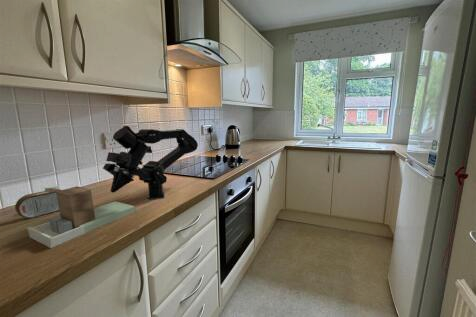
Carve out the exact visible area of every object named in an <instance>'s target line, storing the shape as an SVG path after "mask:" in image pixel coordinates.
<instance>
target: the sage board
mask: <svg viewBox="0 0 476 317" xmlns="http://www.w3.org/2000/svg"><path fill="white" fill-rule="evenodd" d="M135 212H136V206H135V205H131V204H127V203H123V202H119V201H116V200H115V201H112V202H109V203H106V204H103V205H100V206H97V207H94V214H95V220H93V221H90V222H88V223H85V224H83V225H80V226H84V233H85V234H86V233H88V232H91V231H93V230H95V229H98V228H99V227H102V226H105V225H107V224H110V223H111V222H115V221H116V220H118V219H121V218H123V217H126V216H128V215H130V214H133V213H135ZM80 226H77V227H73V226H72V228H73V229H75V228H78V227H80Z"/></svg>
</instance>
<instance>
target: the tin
mask: <svg viewBox="0 0 476 317" xmlns="http://www.w3.org/2000/svg"><path fill="white" fill-rule="evenodd" d="M61 190H62V189H60V188H58V189H52V190H47V191H45V190H43V191H37V192H33V193H27V194H24V195H23V196H21V197H20V198H18V200H16V203H15V205H14V208H15V212H16V213H17V214H18V215H19V216H20V217H22V218H24V219H34V218H38V217H42V216H46V215H50V214H54V213H58V212H60V211H59V206H58V200H57V194H56V192H57V191H61Z"/></svg>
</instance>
